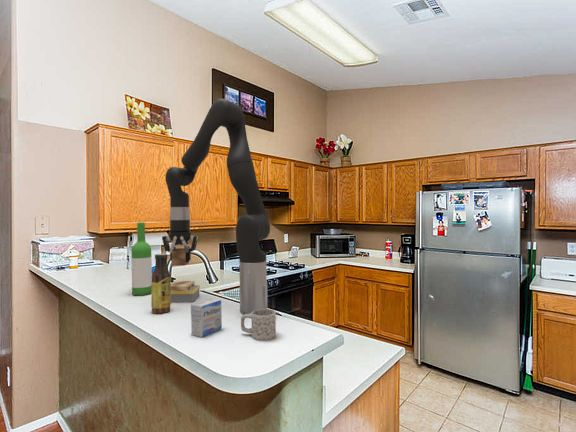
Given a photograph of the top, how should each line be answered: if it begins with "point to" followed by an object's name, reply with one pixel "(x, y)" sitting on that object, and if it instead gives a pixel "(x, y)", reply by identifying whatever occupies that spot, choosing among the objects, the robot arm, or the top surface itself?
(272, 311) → the mug
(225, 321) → the top surface
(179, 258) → the crate
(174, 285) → the pallet
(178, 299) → the yellow and gray block
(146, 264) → the wine bottle
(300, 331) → the top surface
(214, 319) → the medicine box
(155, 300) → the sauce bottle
